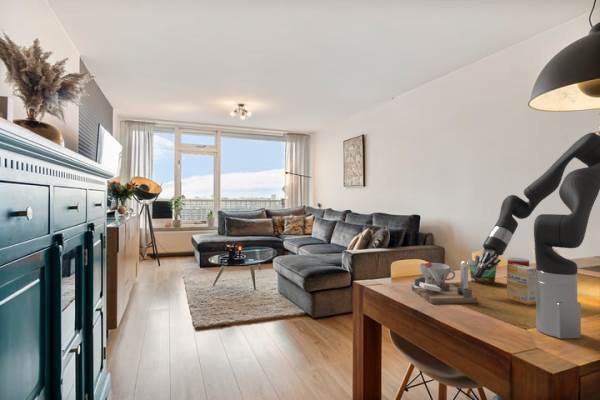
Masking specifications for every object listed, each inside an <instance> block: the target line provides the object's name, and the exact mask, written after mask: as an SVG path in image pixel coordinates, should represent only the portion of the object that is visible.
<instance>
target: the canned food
mask: <svg viewBox="0 0 600 400" xmlns="http://www.w3.org/2000/svg"><path fill="white" fill-rule="evenodd" d="M507 264H519V265H524V266H529V267H530V259H528V258H523V257H508V258H507Z"/></svg>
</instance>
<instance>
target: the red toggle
mask: <svg viewBox="0 0 600 400" xmlns="http://www.w3.org/2000/svg"><path fill="white" fill-rule="evenodd" d="M431 263H432V262H430V261H426V262H425V267H426V268H427V269H428V270H429V272H430V273H431V275H432V276H433V277H434V279H435V280H436V282H437V283H438V285H439V286H440V287H441V283H443V281H442V280H441V278H440V277H439V275H438V274H437V272H436V271H435V269H434V268H433V266H432V264H431Z"/></svg>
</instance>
